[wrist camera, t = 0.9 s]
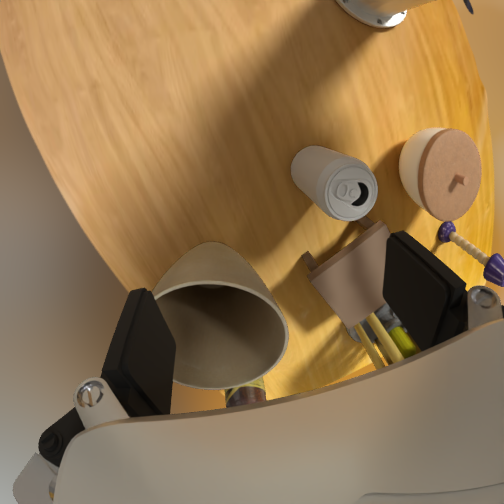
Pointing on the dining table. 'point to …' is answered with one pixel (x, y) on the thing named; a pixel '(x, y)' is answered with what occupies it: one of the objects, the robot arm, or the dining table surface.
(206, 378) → the plant pot
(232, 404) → the sauce bottle
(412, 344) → the lantern
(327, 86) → the dining table surface
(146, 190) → the dining table surface
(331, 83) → the dining table surface
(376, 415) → the robot arm
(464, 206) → the lidded bowl
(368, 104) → the dining table surface
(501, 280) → the toy lamp
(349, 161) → the beverage can
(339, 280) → the small brown table
